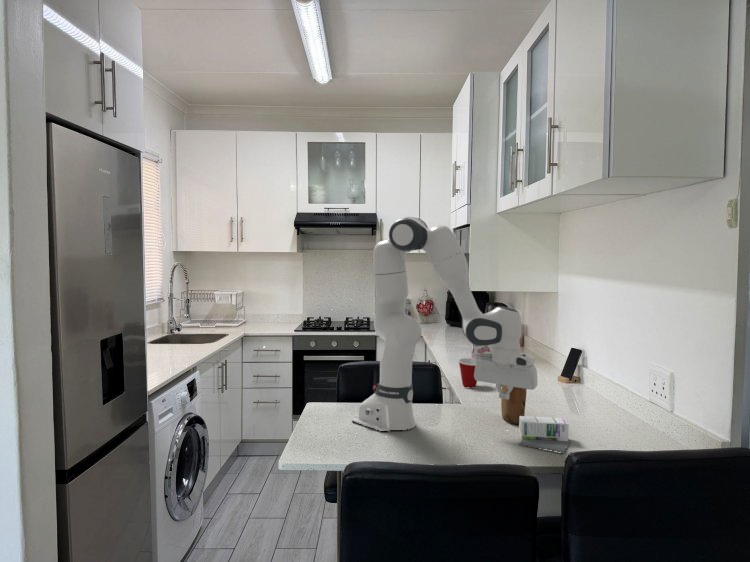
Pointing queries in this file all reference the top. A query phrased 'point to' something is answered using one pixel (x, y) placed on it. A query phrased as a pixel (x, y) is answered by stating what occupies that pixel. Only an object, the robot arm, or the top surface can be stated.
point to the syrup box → (543, 428)
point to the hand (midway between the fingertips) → (504, 398)
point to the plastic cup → (467, 372)
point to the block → (513, 404)
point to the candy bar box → (480, 350)
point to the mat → (546, 444)
